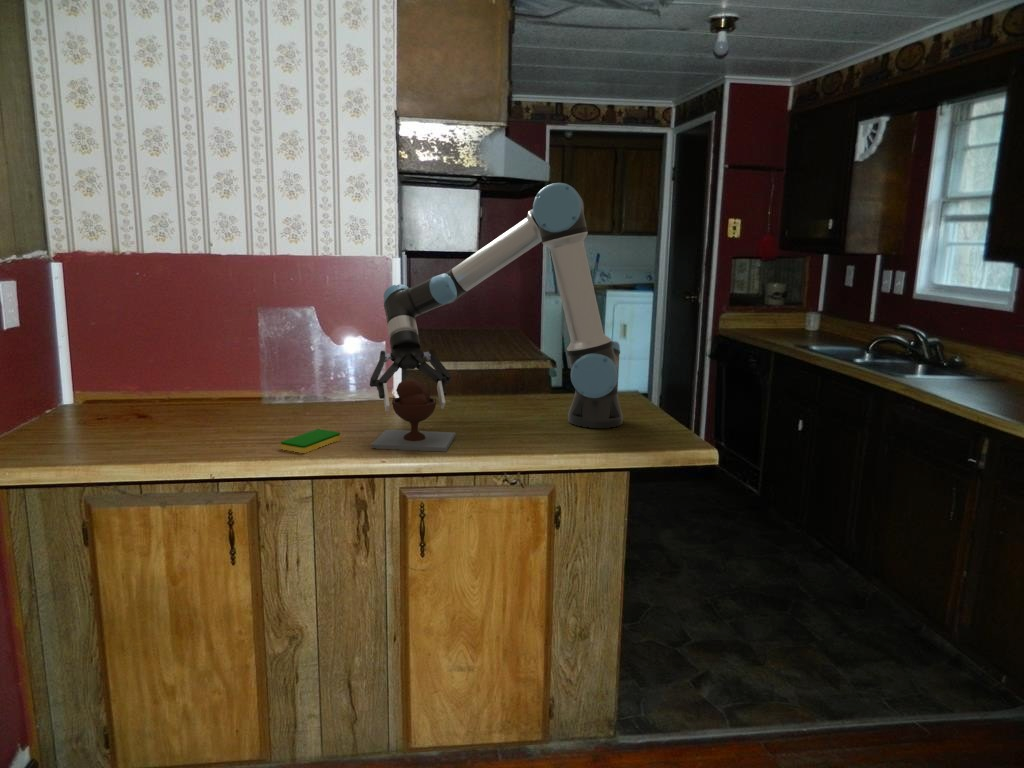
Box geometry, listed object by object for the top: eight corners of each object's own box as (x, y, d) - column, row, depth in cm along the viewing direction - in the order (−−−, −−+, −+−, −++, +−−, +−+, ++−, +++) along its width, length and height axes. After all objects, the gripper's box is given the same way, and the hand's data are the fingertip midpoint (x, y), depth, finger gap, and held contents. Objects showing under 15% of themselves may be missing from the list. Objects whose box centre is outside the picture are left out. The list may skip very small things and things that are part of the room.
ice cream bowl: (429, 445, 178) (429, 383, 175) (385, 442, 180) (384, 381, 177) (442, 434, 188) (442, 375, 185) (400, 431, 190) (399, 373, 187)
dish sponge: (280, 451, 175) (279, 441, 175) (318, 437, 188) (317, 428, 187) (304, 455, 172) (303, 445, 172) (341, 441, 185) (341, 432, 184)
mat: (455, 436, 190) (455, 432, 190) (445, 451, 176) (445, 447, 176) (385, 433, 192) (385, 429, 191) (371, 448, 178) (371, 444, 178)
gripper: (448, 345, 199) (462, 412, 188) (353, 347, 191) (362, 418, 180) (453, 327, 193) (468, 396, 182) (355, 329, 185) (364, 401, 174)
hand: (415, 407), depth 181 cm, fingers open, 13 cm apart
